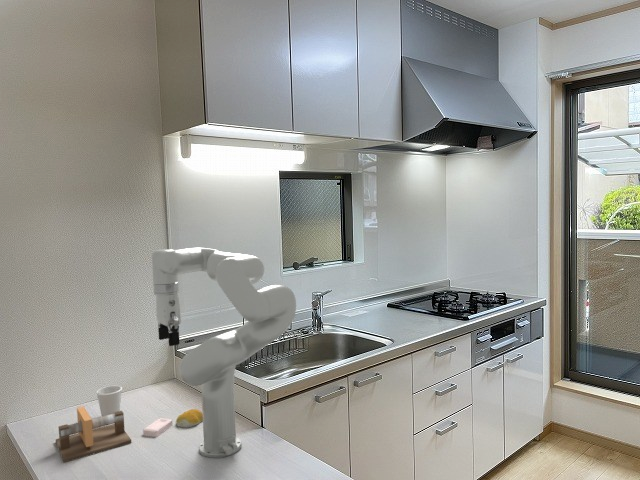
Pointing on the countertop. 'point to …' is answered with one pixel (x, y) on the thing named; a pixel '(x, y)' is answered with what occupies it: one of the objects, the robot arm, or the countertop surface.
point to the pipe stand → (102, 437)
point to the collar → (85, 426)
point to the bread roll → (189, 418)
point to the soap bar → (157, 427)
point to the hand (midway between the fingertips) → (169, 341)
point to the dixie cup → (109, 399)
